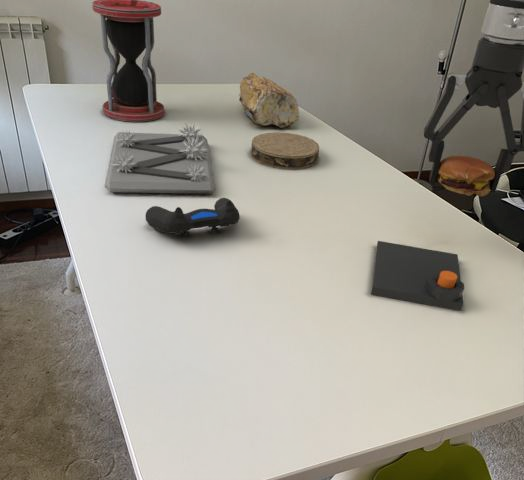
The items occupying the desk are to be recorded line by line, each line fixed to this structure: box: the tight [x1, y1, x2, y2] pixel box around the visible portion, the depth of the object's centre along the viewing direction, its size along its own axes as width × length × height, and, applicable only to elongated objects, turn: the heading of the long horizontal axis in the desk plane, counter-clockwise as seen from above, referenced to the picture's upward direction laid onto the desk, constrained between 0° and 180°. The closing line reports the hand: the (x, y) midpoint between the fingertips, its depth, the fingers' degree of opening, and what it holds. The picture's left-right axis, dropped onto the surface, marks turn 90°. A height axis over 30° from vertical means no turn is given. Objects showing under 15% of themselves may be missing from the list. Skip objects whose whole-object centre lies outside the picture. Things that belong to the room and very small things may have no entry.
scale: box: [370, 240, 465, 311], centre depth 91 cm, size 14×16×3 cm
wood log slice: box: [250, 131, 320, 170], centre depth 130 cm, size 16×16×3 cm
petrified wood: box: [238, 72, 300, 129], centre depth 150 cm, size 19×13×10 cm
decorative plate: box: [104, 122, 217, 195], centre depth 117 cm, size 30×22×7 cm
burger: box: [437, 155, 495, 197], centre depth 94 cm, size 10×9×5 cm
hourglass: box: [91, 0, 165, 123], centre depth 140 cm, size 16×16×25 cm
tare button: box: [437, 271, 457, 289], centre depth 85 cm, size 3×3×2 cm
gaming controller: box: [144, 197, 241, 236], centre depth 97 cm, size 17×6×10 cm
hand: (461, 184), depth 96 cm, fingers closed on burger, 9 cm apart
